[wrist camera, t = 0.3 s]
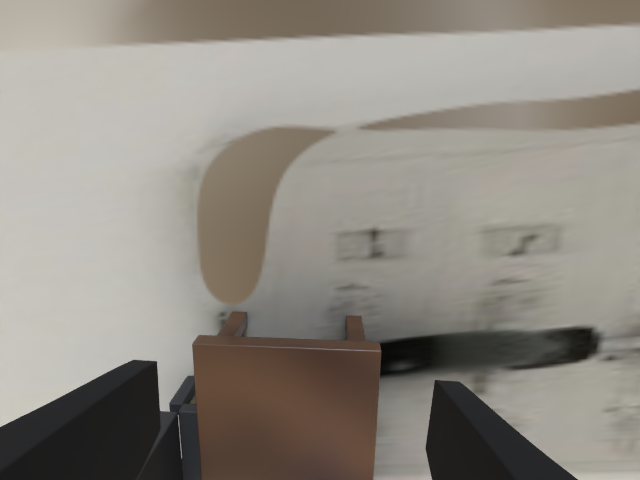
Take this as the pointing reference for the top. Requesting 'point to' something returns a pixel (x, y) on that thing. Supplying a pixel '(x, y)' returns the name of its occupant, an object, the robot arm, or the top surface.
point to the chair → (176, 440)
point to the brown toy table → (286, 405)
